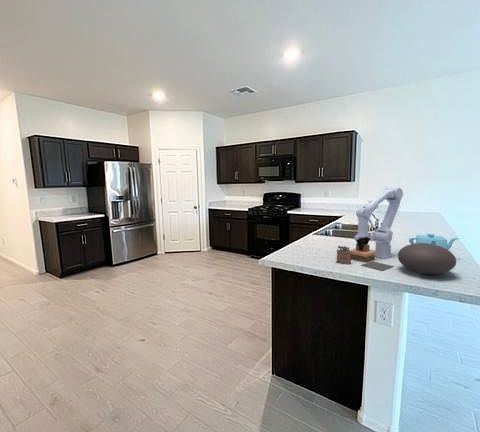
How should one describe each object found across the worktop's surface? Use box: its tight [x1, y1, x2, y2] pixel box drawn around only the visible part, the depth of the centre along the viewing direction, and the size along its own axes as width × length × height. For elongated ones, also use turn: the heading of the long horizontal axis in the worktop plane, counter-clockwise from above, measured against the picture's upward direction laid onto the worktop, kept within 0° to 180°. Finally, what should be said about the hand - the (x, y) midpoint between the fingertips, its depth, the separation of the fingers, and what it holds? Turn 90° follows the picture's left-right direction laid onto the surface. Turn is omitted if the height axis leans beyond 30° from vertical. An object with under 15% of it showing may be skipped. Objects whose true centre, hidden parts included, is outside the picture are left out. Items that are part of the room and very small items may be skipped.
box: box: [351, 254, 376, 263], centre depth 162 cm, size 10×10×4 cm
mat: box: [360, 260, 394, 272], centre depth 148 cm, size 12×12×1 cm
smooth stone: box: [397, 242, 457, 275], centre depth 136 cm, size 25×25×15 cm
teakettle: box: [408, 233, 460, 251], centre depth 162 cm, size 19×19×15 cm
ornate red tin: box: [335, 245, 352, 265], centre depth 154 cm, size 8×3×10 cm, turn 60°
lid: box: [349, 243, 377, 257], centre depth 162 cm, size 12×12×6 cm
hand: (362, 249), depth 162 cm, fingers closed on lid, 3 cm apart
